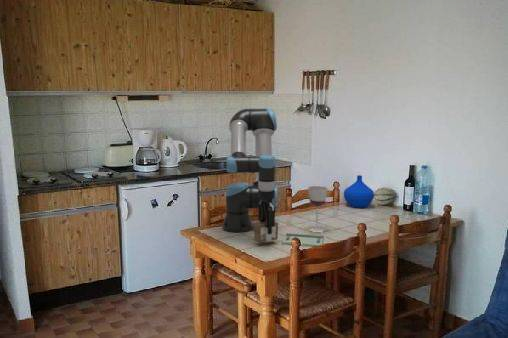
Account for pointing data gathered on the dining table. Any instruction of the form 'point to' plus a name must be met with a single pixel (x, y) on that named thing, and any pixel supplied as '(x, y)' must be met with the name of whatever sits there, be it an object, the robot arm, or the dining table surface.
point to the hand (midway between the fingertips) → (266, 238)
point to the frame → (264, 232)
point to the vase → (358, 194)
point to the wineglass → (317, 201)
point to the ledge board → (304, 239)
